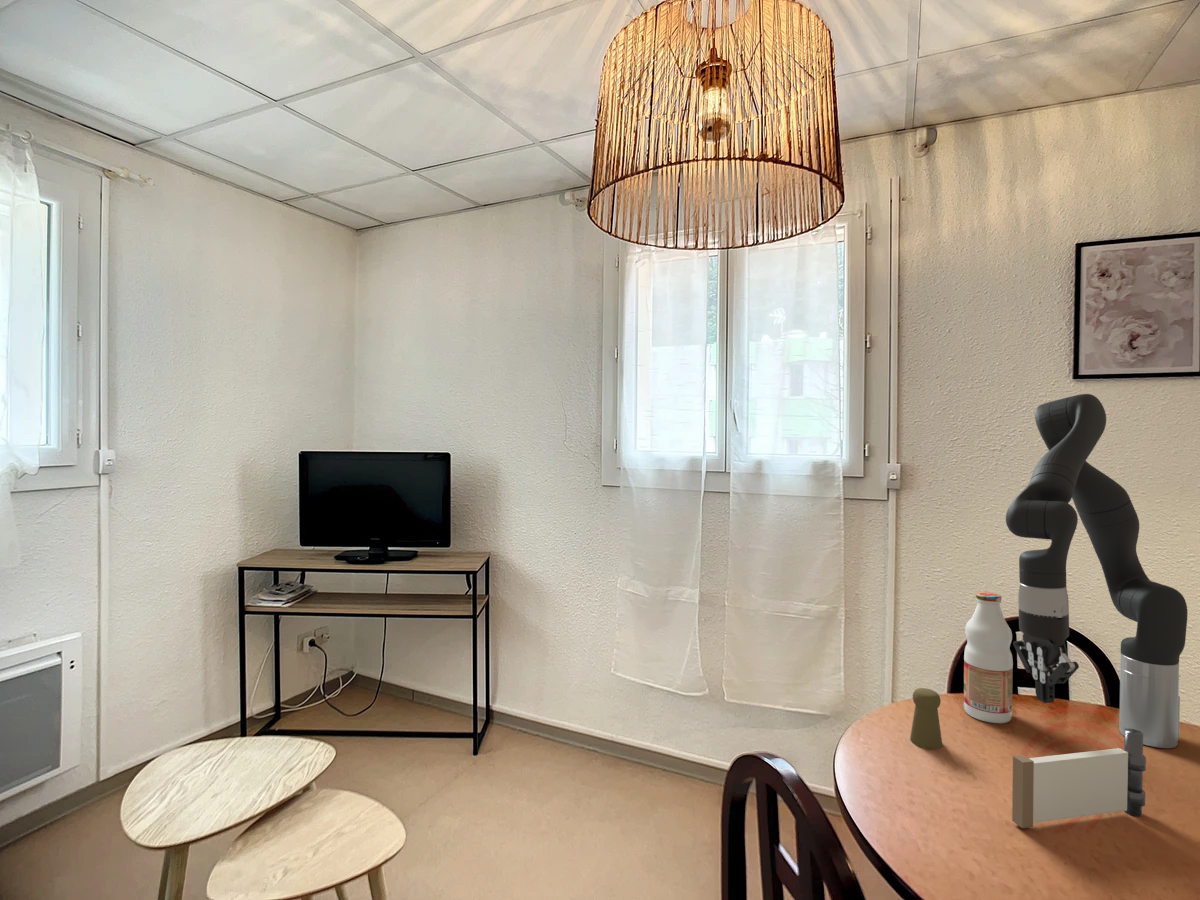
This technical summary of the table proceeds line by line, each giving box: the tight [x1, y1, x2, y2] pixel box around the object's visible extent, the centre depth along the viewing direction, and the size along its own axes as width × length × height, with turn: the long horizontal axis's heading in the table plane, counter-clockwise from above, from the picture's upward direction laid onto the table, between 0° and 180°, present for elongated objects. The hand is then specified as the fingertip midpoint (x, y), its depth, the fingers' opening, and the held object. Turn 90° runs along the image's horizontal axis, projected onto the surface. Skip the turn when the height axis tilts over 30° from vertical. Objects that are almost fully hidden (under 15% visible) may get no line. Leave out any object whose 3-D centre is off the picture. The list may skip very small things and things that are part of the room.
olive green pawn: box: [909, 687, 943, 750], centre depth 130 cm, size 6×6×11 cm
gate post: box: [1123, 729, 1147, 818], centre depth 105 cm, size 3×3×14 cm
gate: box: [1011, 747, 1128, 829], centre depth 103 cm, size 20×2×11 cm, turn 99°
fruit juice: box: [963, 591, 1014, 724], centre depth 141 cm, size 9×9×28 cm
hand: (1045, 701), depth 114 cm, fingers closed
